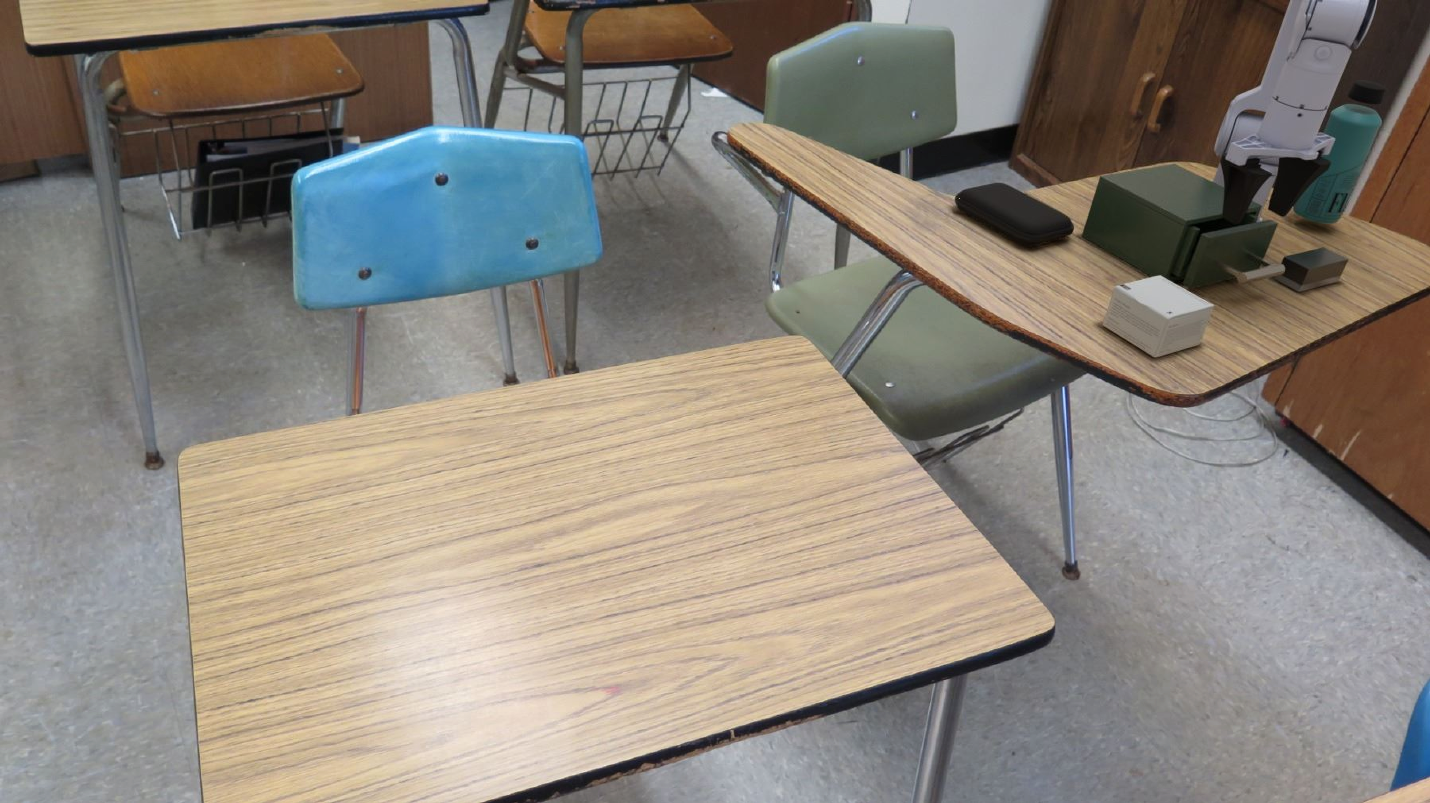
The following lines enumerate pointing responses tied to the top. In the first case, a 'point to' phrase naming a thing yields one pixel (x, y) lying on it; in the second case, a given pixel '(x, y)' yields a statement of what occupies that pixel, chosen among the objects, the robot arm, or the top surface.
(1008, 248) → the top surface
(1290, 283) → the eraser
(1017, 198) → the carrying case
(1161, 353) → the small box
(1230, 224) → the drawer
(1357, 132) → the beverage bottle
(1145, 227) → the cabinet
